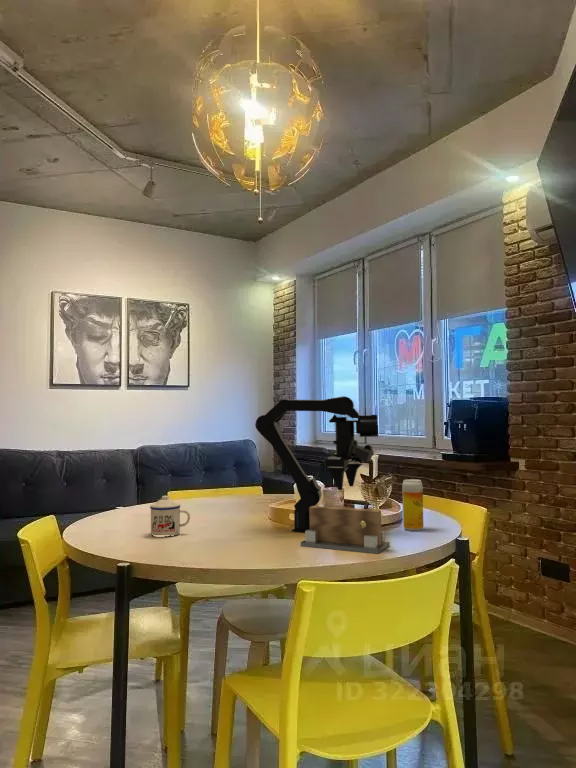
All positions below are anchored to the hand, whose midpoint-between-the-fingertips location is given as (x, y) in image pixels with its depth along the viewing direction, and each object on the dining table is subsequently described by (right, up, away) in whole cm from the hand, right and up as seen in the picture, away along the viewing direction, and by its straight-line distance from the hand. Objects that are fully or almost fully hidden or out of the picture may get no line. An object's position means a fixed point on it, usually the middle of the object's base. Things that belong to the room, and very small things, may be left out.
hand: (345, 488), depth 181 cm
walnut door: (-2, -11, -21) cm, 23 cm away
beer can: (+21, -13, 0) cm, 24 cm away
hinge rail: (-2, -12, -21) cm, 24 cm away
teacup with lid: (-54, -14, -2) cm, 55 cm away
